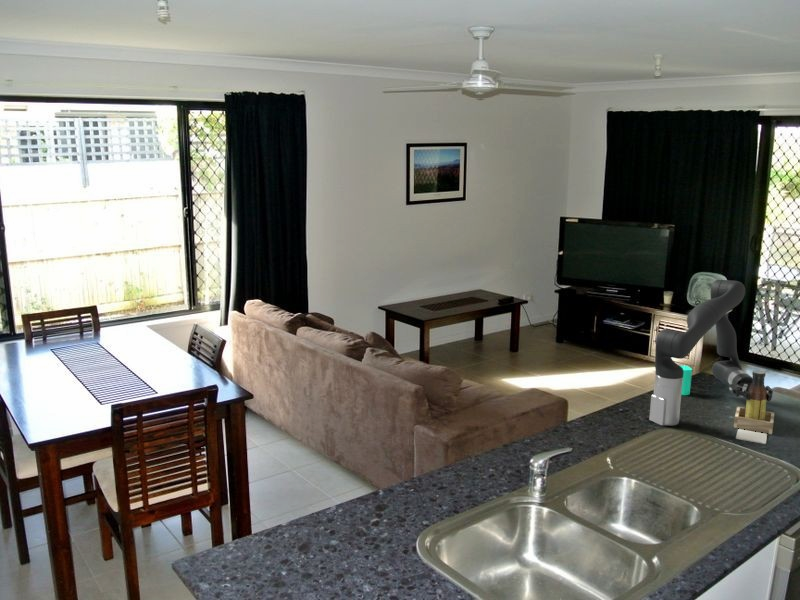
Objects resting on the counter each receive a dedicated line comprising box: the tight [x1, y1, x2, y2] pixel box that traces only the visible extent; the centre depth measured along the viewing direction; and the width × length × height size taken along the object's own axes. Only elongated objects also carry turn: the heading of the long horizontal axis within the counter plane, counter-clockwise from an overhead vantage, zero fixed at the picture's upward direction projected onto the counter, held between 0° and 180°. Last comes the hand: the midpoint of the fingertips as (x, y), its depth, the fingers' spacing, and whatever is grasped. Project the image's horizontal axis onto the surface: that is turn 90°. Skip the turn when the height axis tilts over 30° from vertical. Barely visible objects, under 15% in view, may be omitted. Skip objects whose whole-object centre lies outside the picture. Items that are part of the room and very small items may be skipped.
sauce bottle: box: [745, 369, 767, 421], centre depth 249 cm, size 7×6×20 cm
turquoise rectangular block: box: [679, 363, 693, 396], centre depth 284 cm, size 6×6×12 cm
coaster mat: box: [735, 428, 768, 445], centre depth 241 cm, size 9×9×1 cm
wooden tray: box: [733, 406, 775, 435], centre depth 251 cm, size 12×12×4 cm
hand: (759, 397), depth 247 cm, fingers closed on sauce bottle, 6 cm apart
